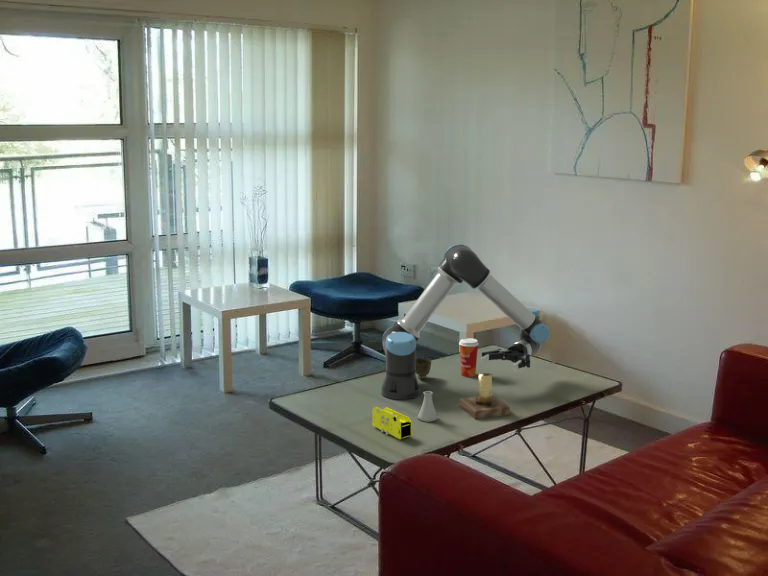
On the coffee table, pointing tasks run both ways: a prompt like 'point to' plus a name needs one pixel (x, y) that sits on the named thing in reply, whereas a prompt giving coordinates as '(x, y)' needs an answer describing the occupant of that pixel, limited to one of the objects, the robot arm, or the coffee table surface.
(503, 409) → the jig plate
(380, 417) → the yellow toy chassis
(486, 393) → the cylinder
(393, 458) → the coffee table surface
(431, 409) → the flask
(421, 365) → the cup
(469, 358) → the coffee cup
